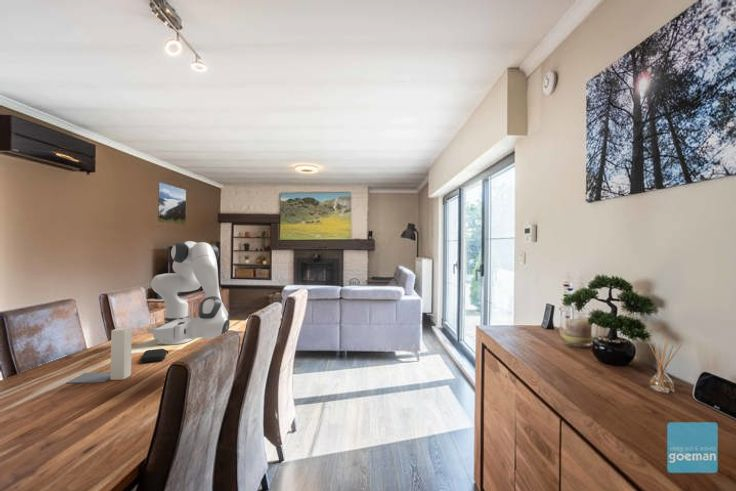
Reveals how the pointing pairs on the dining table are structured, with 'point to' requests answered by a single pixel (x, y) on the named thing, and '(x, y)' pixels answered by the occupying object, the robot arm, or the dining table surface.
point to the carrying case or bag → (153, 355)
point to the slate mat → (91, 378)
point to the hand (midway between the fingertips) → (153, 328)
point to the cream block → (121, 353)
